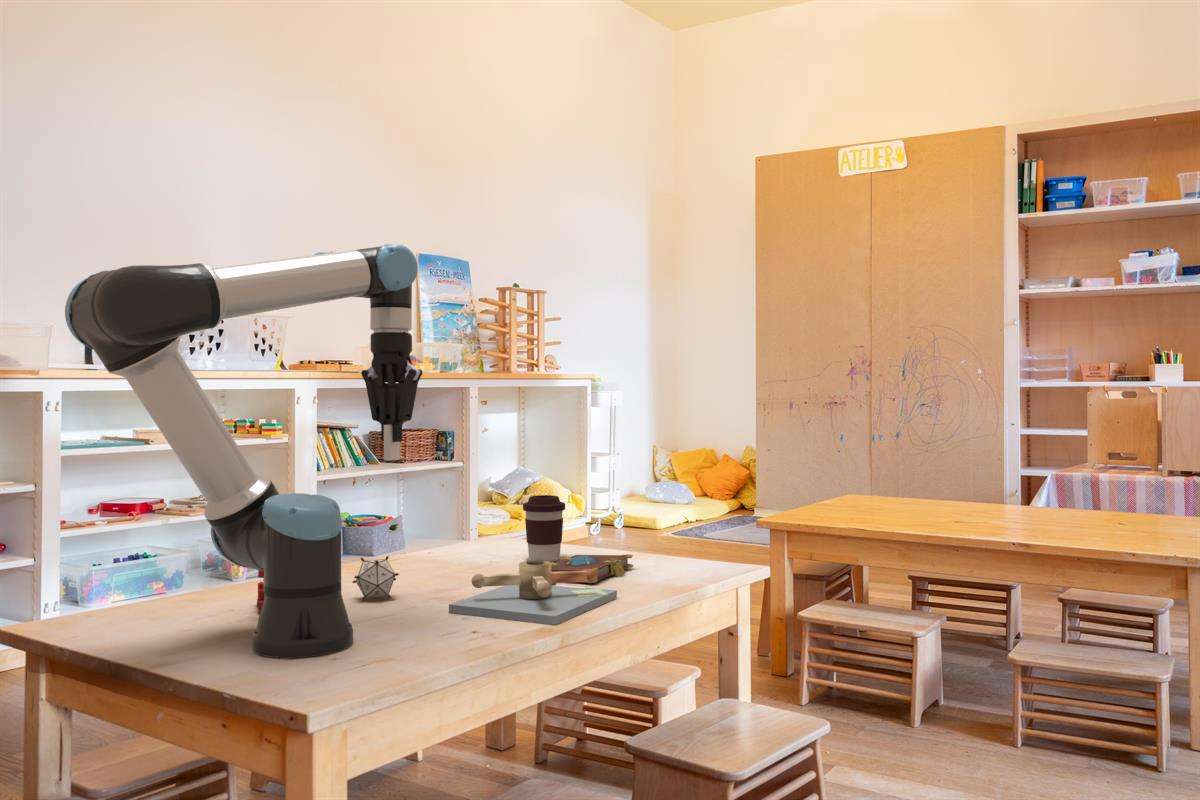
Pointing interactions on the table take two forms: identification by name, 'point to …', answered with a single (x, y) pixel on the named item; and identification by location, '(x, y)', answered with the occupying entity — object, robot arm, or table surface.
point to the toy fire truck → (260, 591)
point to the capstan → (534, 578)
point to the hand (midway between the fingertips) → (391, 459)
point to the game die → (375, 578)
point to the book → (594, 564)
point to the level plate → (534, 604)
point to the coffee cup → (544, 526)
